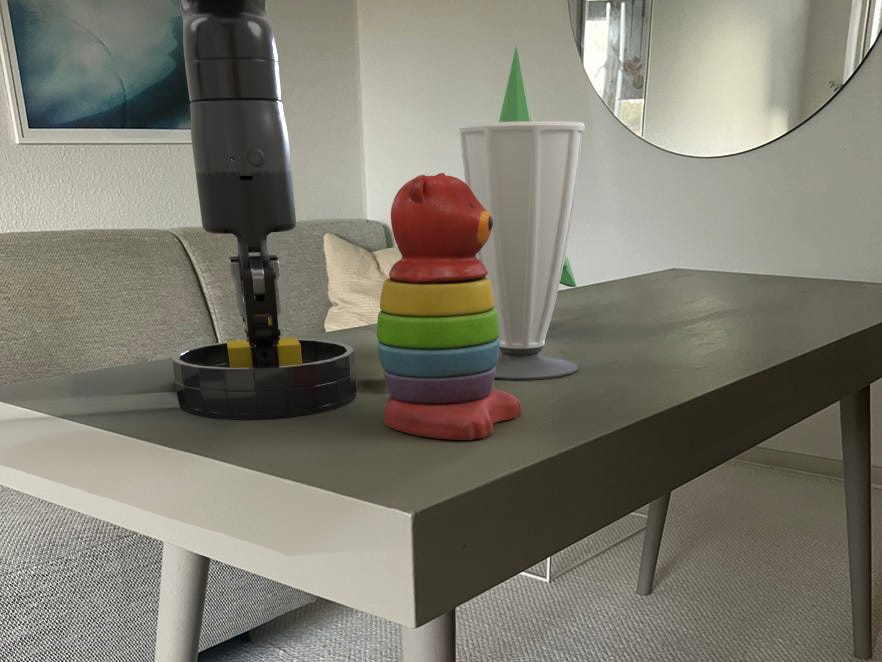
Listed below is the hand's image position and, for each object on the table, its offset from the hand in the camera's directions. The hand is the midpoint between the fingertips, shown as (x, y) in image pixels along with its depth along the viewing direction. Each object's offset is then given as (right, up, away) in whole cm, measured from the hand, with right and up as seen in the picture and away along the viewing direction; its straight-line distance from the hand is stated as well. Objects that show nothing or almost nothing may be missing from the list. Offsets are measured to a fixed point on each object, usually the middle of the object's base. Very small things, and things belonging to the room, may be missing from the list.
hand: (267, 384), depth 86 cm
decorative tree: (+23, +15, +34) cm, 43 cm away
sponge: (0, 0, 0) cm, 0 cm away
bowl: (0, -1, +1) cm, 1 cm away
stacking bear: (+16, -5, -8) cm, 18 cm away
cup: (+23, +4, +12) cm, 26 cm away
